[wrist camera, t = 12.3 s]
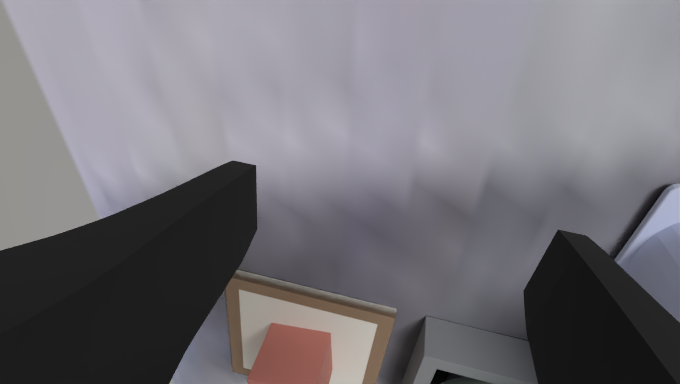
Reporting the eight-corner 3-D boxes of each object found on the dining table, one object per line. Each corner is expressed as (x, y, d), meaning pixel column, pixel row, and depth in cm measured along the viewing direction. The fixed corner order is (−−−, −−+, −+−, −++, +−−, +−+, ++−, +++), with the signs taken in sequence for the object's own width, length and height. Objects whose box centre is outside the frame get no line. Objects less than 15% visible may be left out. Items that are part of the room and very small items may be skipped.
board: (396, 308, 26) (395, 318, 26) (369, 399, 33) (368, 409, 32) (229, 267, 28) (224, 276, 27) (236, 362, 35) (232, 371, 34)
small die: (330, 332, 28) (313, 394, 24) (332, 369, 30) (317, 430, 27) (271, 322, 29) (246, 380, 25) (278, 358, 31) (256, 416, 28)
